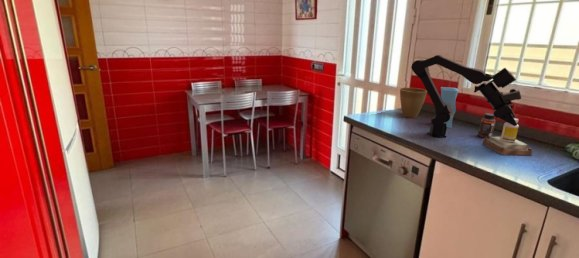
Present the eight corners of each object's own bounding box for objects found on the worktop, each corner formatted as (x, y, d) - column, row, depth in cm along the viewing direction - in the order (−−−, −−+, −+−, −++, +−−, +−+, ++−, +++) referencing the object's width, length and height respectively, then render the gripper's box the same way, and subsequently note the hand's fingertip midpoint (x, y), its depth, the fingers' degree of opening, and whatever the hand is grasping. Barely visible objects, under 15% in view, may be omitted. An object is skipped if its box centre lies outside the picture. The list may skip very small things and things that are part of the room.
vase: (434, 122, 177) (440, 86, 171) (449, 123, 175) (456, 88, 169) (436, 126, 170) (442, 89, 164) (452, 127, 168) (459, 90, 161)
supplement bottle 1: (493, 139, 152) (499, 116, 149) (480, 137, 153) (485, 115, 150) (489, 135, 158) (494, 113, 154) (476, 134, 159) (480, 112, 155)
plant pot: (426, 116, 189) (430, 89, 185) (418, 121, 178) (422, 93, 173) (401, 111, 198) (405, 86, 193) (392, 116, 187) (396, 89, 182)
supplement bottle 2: (517, 142, 135) (523, 120, 133) (504, 142, 136) (509, 120, 133) (510, 138, 141) (515, 117, 138) (497, 138, 141) (502, 116, 138)
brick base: (500, 154, 133) (503, 145, 132) (482, 143, 145) (484, 135, 144) (531, 155, 133) (533, 146, 132) (510, 144, 146) (512, 136, 144)
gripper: (510, 86, 125) (537, 118, 123) (511, 80, 140) (535, 109, 137) (483, 102, 132) (507, 132, 129) (487, 95, 147) (509, 122, 144)
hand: (516, 123), depth 135 cm, fingers open, 6 cm apart
